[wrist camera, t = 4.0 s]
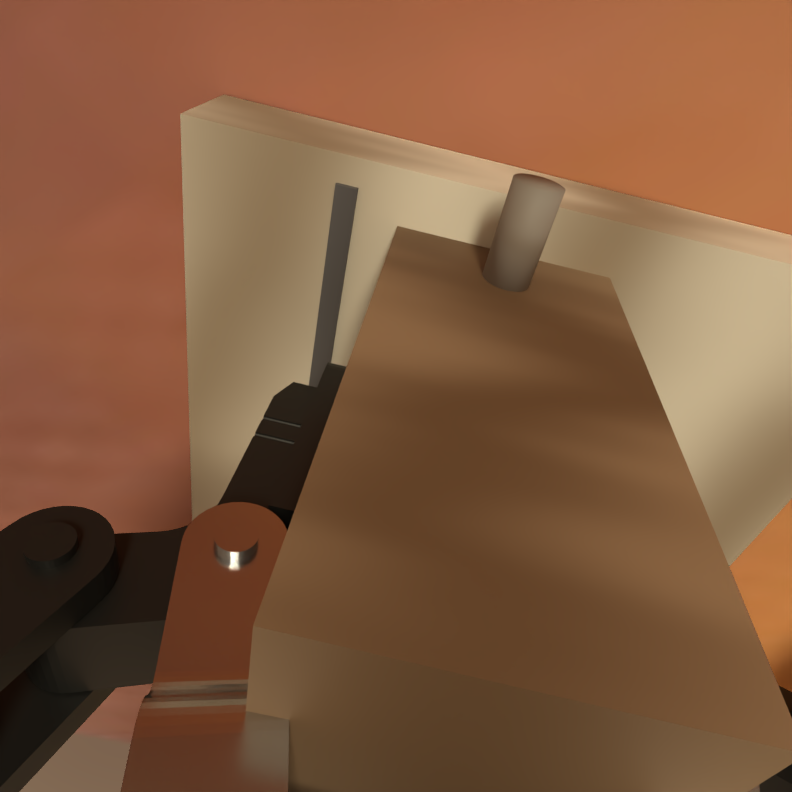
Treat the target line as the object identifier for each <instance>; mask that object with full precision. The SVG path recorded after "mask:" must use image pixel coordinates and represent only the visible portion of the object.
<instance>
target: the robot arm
mask: <svg viewBox="0 0 792 792" xmlns="http://www.w3.org/2000/svg"><path fill="white" fill-rule="evenodd" d="M345 370H346V366H342V365H338V364H334V363H329V362H328V363H327V365H326V367H325V370H324V372H323V374H322V377H321V379H320V382H319V384H318V386H317V387H313V386H309V385H304V384H300V383H296V382H293V383H291V384H290V385H288V386H287V387H286V388H284V389H283V390H281V391H280V392H279V393H277V394H276V395H274V396H273V398H272V400H271V402H270V404H269V406H268V408H267V410H266V412H265V414H264V417H263V420H261V422H260V424H259V426H258V428H257V430H256V432H255V436H253V438H252V440H251V442H250V443H249V445H248V447H247V449H246V451H245V453H244V455H243V457H242V459H241V461H240V463H239V465H238V467H237V469H236V471H235V473H234V475H233V477H232V479H231V481H230V483H229V485H228V487H227V489H226V491H225V493H224V494H223V496H222V498H221V500H220V501H219V503H218V504H217V505H216V506H214V507H212V508H210V509H207V510H206V511H204V512H203V513H201V514H199V515H198V516H197V517H196V518H195V519H194V520H193V521H192V522H191V523H190V524H189V525H188V526H185V527H182V528H179V529H174V530H169V531H161V532H143V533H121V534H114V531H113V529H112V526H111V524H110V523H109V522H108V521H107V520H106V518H104V517H103V516H102V515H100V514H99V513H97V512H95V511H93V510H90V509H86V508H83V507H76V506H59V507H52V508H47V509H42V510H39V511H36V512H33V513H31V514H29V515H26V516H24V517H22V518H20V519H19V520H17V521H15V522H14V523H12V524H11V525H9V526H8V527H6V528H5V529H3V530H2V531H0V792H19V791H20V790H21V789H22V788H23V787H24V786H25V785H26V784H27V783H28V781H29V780H30V779H31V778H32V777H33V776H34V775H35V774H36V773H37V772H38V771H39V770H40V769H41V768H42V767H43V766H44V764H45V763H46V762H47V761H48V760H49V759H50V758H51V757H52V756H53V755H54V754H55V753H56V752H57V750H58V749H59V748H60V747H61V746H62V745H63V744H64V743H65V742H66V741H67V740H68V739H69V738H70V737H71V736H72V734H73V733H74V732H75V731H76V730H77V729H78V728H79V727H80V726H81V725H82V724H83V723H84V722H85V721H86V719H87V718H88V717H89V716H90V715H91V714H92V713H93V712H94V711H95V710H96V709H97V708H98V707H99V706H100V704H101V703H102V702H103V701H104V700H105V699H106V698H107V697H108V696H109V695H110V694H111V693H112V692H113V691H114V689H115V688H117V687H125V686H134V685H142V684H151V683H153V684H152V687H151V690H150V692H149V694H148V695H146V696H145V697H144V699H143V701H142V704H141V706H140V709H139V712H138V716H137V720H136V723H135V727H134V732H133V736H132V741H131V745H130V750H129V755H128V760H127V764H126V769H125V774H124V779H123V783H122V788H121V792H288V765H289V720H288V719H283V718H278V717H273V716H268V715H263V714H258V713H253V712H248V711H246V703H247V691H248V679H249V667H250V655H251V644H252V632H253V624H254V622H255V619H256V616H257V613H258V611H259V608H260V605H261V602H262V600H263V597H264V594H265V591H266V588H267V586H268V583H269V580H270V577H271V575H272V572H273V569H274V566H275V564H276V561H277V558H278V555H279V552H280V550H281V547H282V544H283V541H284V539H285V536H286V533H287V530H288V528H289V525H290V522H291V519H292V516H293V514H294V511H295V508H296V505H297V503H298V500H299V497H300V494H301V492H302V489H303V486H304V483H305V480H306V478H307V475H308V472H309V469H310V467H311V464H312V461H313V458H314V456H315V453H316V450H317V447H318V444H319V442H320V439H321V436H322V433H323V431H324V428H325V425H326V422H327V420H328V417H329V414H330V411H331V408H332V406H333V403H334V400H335V397H336V395H337V392H338V389H339V386H340V383H341V381H342V378H343V375H344V372H345ZM778 686H779V685H778ZM779 688H780V691H781V693H782V696H783V698H784V700H785V703H786V705H787V708H788V710H789V713H790V715H791V717H792V692H790V691H788V690H786V689H784V688H782V687H780V686H779ZM748 792H792V764H791V765H789V766H788V767H786V768H784V769H783V770H781V771H780V772H778V773H777V774H775V775H773V776H772V777H770V778H769V779H767V780H765V781H764V782H762V783H761V784H759V785H758V786H756V787H754V788H753V789H751V790H750V791H748Z"/></svg>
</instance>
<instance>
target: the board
mask: <svg viewBox="0 0 792 792" xmlns="http://www.w3.org/2000/svg"><path fill="white" fill-rule="evenodd" d="M180 118H181V153H182V187H183V221H184V256H185V290H186V324H187V359H188V393H189V428H190V462H191V496H192V521H193V520H194V519H195V518H196V517H197V516H198V515H199V514H201V513H203V512H204V511H206V510H207V509H210V508H212V507H214V506H216V505H217V504H218V503H219V501H220V500H221V498H222V496H223V494H224V493H225V491H226V489H227V487H228V485H229V483H230V481H231V479H232V477H233V475H234V473H235V471H236V469H237V467H238V465H239V463H240V461H241V459H242V457H243V455H244V453H245V451H246V449H247V447H248V445H249V443H250V442H251V440H252V438H253V436H255V432H256V430H257V428H258V426H259V424H260V422H261V420H263V417H264V414H265V412H266V410H267V408H268V406H269V404H270V402H271V400H272V398H273V396H274V395H276V394H277V393H279V392H280V391H281V390H283V389H284V388H286V387H287V386H288V385H290V384H291V383H293V382H296V383H300V384H304V385H309V386H313V387H317V386H318V384H319V382H320V379H321V377H322V374H323V372H324V370H325V367H326V365H327V363H328V362H329V363H334V364H338V365H342V366H346V367H347V364H348V361H349V359H350V356H351V353H352V350H353V347H354V345H355V342H356V339H357V336H358V334H359V331H360V328H361V325H362V323H363V320H364V317H365V314H366V311H367V309H368V306H369V303H370V300H371V298H372V295H373V292H374V289H375V287H376V284H377V281H378V278H379V275H380V273H381V270H382V267H383V264H384V262H385V259H386V256H387V253H388V251H389V248H390V245H391V242H392V239H393V237H394V234H395V231H396V228H397V226H400V227H404V228H408V229H412V230H416V231H420V232H425V233H429V234H433V235H437V236H441V237H445V238H449V239H453V240H457V241H461V242H465V243H469V244H474V245H478V246H482V247H486V248H491V245H492V241H493V238H494V235H495V232H496V229H497V226H498V222H499V219H500V216H501V213H502V210H503V207H504V204H505V200H506V197H507V194H508V191H509V188H510V185H511V181H512V178H513V175H515V174H518V173H525V174H532V175H537V176H541V177H544V178H547V179H550V180H552V181H554V182H556V183H558V184H560V185H561V186H563V187H564V188H565V193H564V196H563V199H562V201H561V204H560V206H559V209H558V212H557V214H556V217H555V220H554V222H553V225H552V228H551V230H550V233H549V236H548V238H547V241H546V244H545V246H544V249H543V252H542V254H541V257H540V259H539V261H543V262H547V263H551V264H555V265H559V266H563V267H568V268H572V269H576V270H580V271H584V272H588V273H592V274H596V275H600V276H604V277H608V278H610V279H611V282H612V284H613V287H614V289H615V291H616V294H617V296H618V299H619V301H620V304H621V306H622V308H623V311H624V313H625V316H626V318H627V320H628V323H629V325H630V328H631V330H632V333H633V335H634V337H635V340H636V342H637V345H638V347H639V350H640V352H641V354H642V357H643V359H644V362H645V364H646V366H647V369H648V371H649V374H650V376H651V379H652V381H653V383H654V386H655V388H656V391H657V393H658V395H659V398H660V400H661V403H662V405H663V408H664V410H665V412H666V415H667V417H668V420H669V422H670V425H671V427H672V429H673V432H674V434H675V437H676V439H677V441H678V444H679V446H680V449H681V451H682V454H683V456H684V458H685V461H686V463H687V466H688V468H689V471H690V473H691V475H692V478H693V480H694V483H695V485H696V487H697V490H698V492H699V495H700V497H701V500H702V502H703V504H704V507H705V509H706V512H707V514H708V516H709V519H710V521H711V524H712V526H713V529H714V531H715V533H716V536H717V538H718V541H719V543H720V546H721V548H722V550H723V553H724V555H725V558H726V560H727V562H728V565H729V566H730V565H731V564H732V563H733V562H734V561H735V560H736V559H737V557H738V556H739V555H740V554H741V553H742V552H743V551H744V550H745V549H746V548H747V547H748V545H749V544H750V543H751V542H752V541H753V540H754V539H755V538H756V537H757V536H758V535H759V533H760V532H761V531H762V530H763V529H764V528H765V527H766V526H767V525H768V524H769V523H770V522H771V520H772V519H773V518H774V517H775V516H776V515H777V514H778V513H779V512H780V511H781V510H782V508H783V507H784V506H785V505H786V504H787V503H788V502H789V501H790V500H791V499H792V235H789V234H785V233H781V232H777V231H773V230H769V229H765V228H761V227H757V226H752V225H748V224H744V223H740V222H736V221H732V220H728V219H724V218H720V217H716V216H712V215H708V214H704V213H700V212H696V211H692V210H688V209H684V208H680V207H676V206H672V205H668V204H664V203H660V202H656V201H652V200H647V199H643V198H639V197H635V196H631V195H627V194H623V193H619V192H615V191H611V190H607V189H603V188H599V187H595V186H591V185H587V184H583V183H579V182H575V181H571V180H567V179H563V178H559V177H555V176H551V175H547V174H542V173H538V172H534V171H530V170H526V169H522V168H518V167H514V166H510V165H506V164H502V163H498V162H494V161H490V160H486V159H482V158H478V157H474V156H470V155H466V154H462V153H458V152H454V151H450V150H446V149H442V148H437V147H433V146H429V145H425V144H421V143H417V142H413V141H409V140H405V139H401V138H397V137H393V136H389V135H385V134H381V133H377V132H373V131H369V130H365V129H361V128H357V127H353V126H349V125H345V124H341V123H337V122H332V121H328V120H324V119H320V118H316V117H312V116H308V115H304V114H300V113H296V112H292V111H288V110H284V109H280V108H276V107H272V106H268V105H264V104H260V103H256V102H252V101H248V100H244V99H240V98H236V97H232V96H227V95H222V96H219V97H217V98H215V99H213V100H210V101H208V102H206V103H204V104H201V105H199V106H197V107H194V108H192V109H190V110H188V111H185V112H183V113H181V114H180Z"/></svg>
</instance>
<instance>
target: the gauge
mask: <svg viewBox="0 0 792 792" xmlns="http://www.w3.org/2000/svg"><path fill="white" fill-rule="evenodd" d="M564 193H565V188H564V187H563V186H561V185H560V184H558V183H556V182H554V181H552V180H550V179H547V178H544V177H541V176H537V175H532V174H525V173H518V174H515V175H513V178H512V181H511V185H510V188H509V191H508V194H507V197H506V200H505V204H504V207H503V210H502V213H501V216H500V219H499V222H498V226H497V229H496V232H495V235H494V238H493V241H492V245H491V248H486V247H482V246H478V245H474V244H469V243H465V242H461V241H457V240H453V239H449V238H445V237H441V236H437V235H433V234H429V233H425V232H420V231H416V230H412V229H408V228H404V227H400V226H397V228H396V231H395V234H394V237H393V239H392V242H391V245H390V248H389V251H388V253H387V256H386V259H385V262H384V264H383V267H382V270H381V273H380V275H379V278H378V281H377V284H376V287H375V289H374V292H373V295H372V298H371V300H370V303H369V306H368V309H367V311H366V314H365V317H364V320H363V323H362V325H361V328H360V331H359V334H358V336H357V339H356V342H355V345H354V347H353V350H352V353H351V356H350V359H349V361H348V364H347V367H346V370H345V372H344V375H343V378H342V381H341V383H340V386H339V389H338V392H337V395H336V397H335V400H334V403H333V406H332V408H331V411H330V414H329V417H328V420H327V422H326V425H325V428H324V431H323V433H322V436H321V439H320V442H319V444H318V447H317V450H316V453H315V456H314V458H313V461H312V464H311V467H310V469H309V472H308V475H307V478H306V480H305V483H304V486H303V489H302V492H301V494H300V497H299V500H298V503H297V505H296V508H295V511H294V514H293V516H292V519H291V522H290V525H289V528H288V530H287V533H286V536H285V539H284V541H283V544H282V547H281V550H280V552H279V555H278V558H277V561H276V564H275V566H274V569H273V572H272V575H271V577H270V580H269V583H268V586H267V588H266V591H265V594H264V597H263V600H262V602H261V605H260V608H259V611H258V613H257V616H256V619H255V622H254V624H253V632H252V644H251V655H250V667H249V679H248V691H247V703H246V711H248V712H253V713H258V714H263V715H268V716H273V717H278V718H283V719H288V720H289V765H288V792H748V791H750V790H751V789H753V788H754V787H756V786H758V785H759V784H761V783H762V782H764V781H765V780H767V779H769V778H770V777H772V776H773V775H775V774H777V773H778V772H780V771H781V770H783V769H784V768H786V767H788V766H789V765H791V764H792V717H791V715H790V713H789V710H788V708H787V705H786V703H785V700H784V698H783V696H782V693H781V691H780V688H779V686H778V683H777V681H776V679H775V676H774V674H773V671H772V669H771V667H770V664H769V662H768V659H767V657H766V654H765V652H764V650H763V647H762V645H761V642H760V640H759V638H758V635H757V633H756V630H755V628H754V625H753V623H752V621H751V618H750V616H749V613H748V611H747V608H746V606H745V604H744V601H743V599H742V596H741V594H740V592H739V589H738V587H737V584H736V582H735V579H734V577H733V575H732V572H731V570H730V567H729V565H728V562H727V560H726V558H725V555H724V553H723V550H722V548H721V546H720V543H719V541H718V538H717V536H716V533H715V531H714V529H713V526H712V524H711V521H710V519H709V516H708V514H707V512H706V509H705V507H704V504H703V502H702V500H701V497H700V495H699V492H698V490H697V487H696V485H695V483H694V480H693V478H692V475H691V473H690V471H689V468H688V466H687V463H686V461H685V458H684V456H683V454H682V451H681V449H680V446H679V444H678V441H677V439H676V437H675V434H674V432H673V429H672V427H671V425H670V422H669V420H668V417H667V415H666V412H665V410H664V408H663V405H662V403H661V400H660V398H659V395H658V393H657V391H656V388H655V386H654V383H653V381H652V379H651V376H650V374H649V371H648V369H647V366H646V364H645V362H644V359H643V357H642V354H641V352H640V350H639V347H638V345H637V342H636V340H635V337H634V335H633V333H632V330H631V328H630V325H629V323H628V320H627V318H626V316H625V313H624V311H623V308H622V306H621V304H620V301H619V299H618V296H617V294H616V291H615V289H614V287H613V284H612V282H611V279H610V278H608V277H604V276H600V275H596V274H592V273H588V272H584V271H580V270H576V269H572V268H568V267H563V266H559V265H555V264H551V263H547V262H543V261H539V259H540V257H541V254H542V252H543V249H544V246H545V244H546V241H547V238H548V236H549V233H550V230H551V228H552V225H553V222H554V220H555V217H556V214H557V212H558V209H559V206H560V204H561V201H562V199H563V196H564Z"/></svg>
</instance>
